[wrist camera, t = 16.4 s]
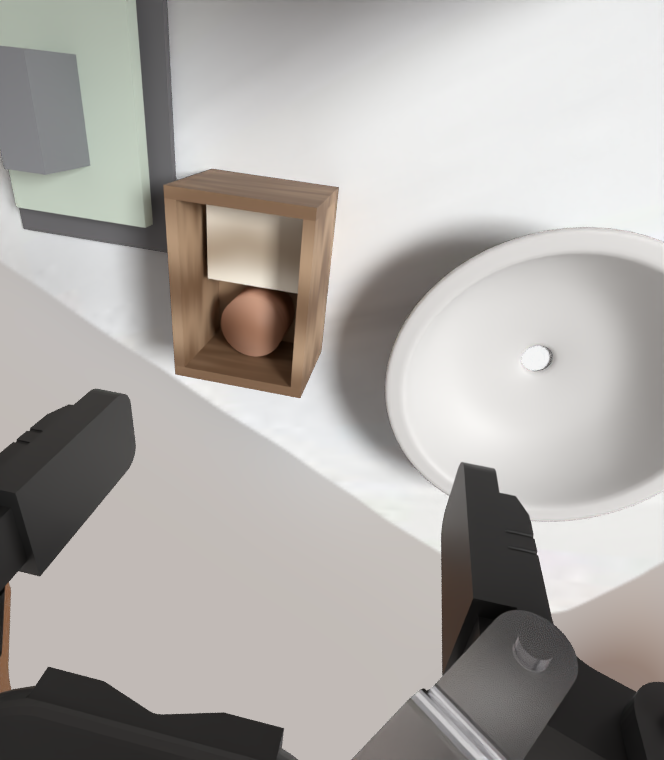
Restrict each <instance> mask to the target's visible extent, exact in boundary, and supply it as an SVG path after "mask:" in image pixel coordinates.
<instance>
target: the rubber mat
mask: <svg viewBox="0 0 664 760" xmlns="http://www.w3.org/2000/svg"><path fill="white" fill-rule="evenodd" d="M136 10H137V23H138V36H139V49H140V62H141V76H142V89H143V102H144V115H145V128H146V141H147V154H148V167H149V180H150V193H151V206H152V219H153V225H151V226H148V227H146V228H143V227H137V226H131V225H125V224H118V223H112V222H106V221H100V220H93V219H87V218H81V217H75V216H68V215H62V214H56V213H50V212H44V211H37V210H31V209H25V208H20V213H21V217H22V222H23V227H24V229H28V230H34V231H40V232H46V233H52V234H58V235H64V236H70V237H76V238H83V239H89V240H95V241H101V242H107V243H113V244H119V245H125V246H131V247H137V248H143V249H149V250H155V251H161V252H167V253H168V250H167V234H166V219H165V203H164V187H163V185H165V184H168V183H171V182H174V181H176V171H175V151H174V132H173V112H172V92H171V73H170V53H169V34H168V14H167V0H136Z"/></svg>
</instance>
